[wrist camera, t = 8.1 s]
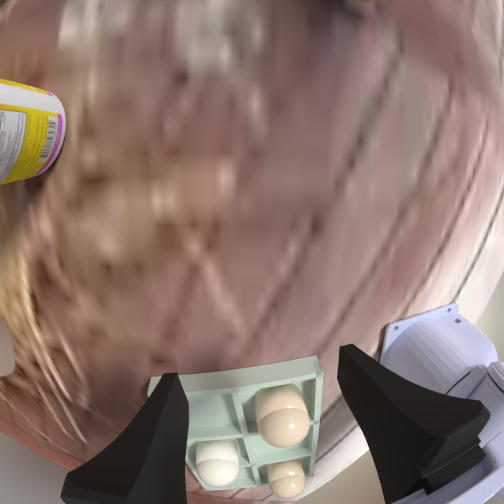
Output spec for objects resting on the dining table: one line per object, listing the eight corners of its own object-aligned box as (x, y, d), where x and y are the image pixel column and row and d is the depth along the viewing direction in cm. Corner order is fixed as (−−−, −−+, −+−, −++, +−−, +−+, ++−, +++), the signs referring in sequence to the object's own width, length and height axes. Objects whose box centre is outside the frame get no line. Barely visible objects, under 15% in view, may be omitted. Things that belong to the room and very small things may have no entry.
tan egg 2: (300, 452, 28) (310, 487, 22) (299, 466, 29) (308, 498, 24) (264, 458, 27) (270, 494, 22) (266, 472, 29) (272, 504, 24)
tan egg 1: (300, 377, 23) (317, 423, 18) (300, 407, 24) (314, 450, 19) (250, 386, 23) (258, 434, 18) (256, 415, 24) (263, 460, 19)
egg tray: (315, 355, 23) (323, 371, 21) (309, 464, 30) (313, 476, 28) (151, 376, 22) (147, 393, 20) (205, 478, 29) (205, 490, 27)
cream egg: (233, 432, 25) (237, 475, 20) (239, 452, 26) (243, 490, 21) (191, 436, 24) (190, 477, 19) (201, 455, 26) (201, 493, 21)
